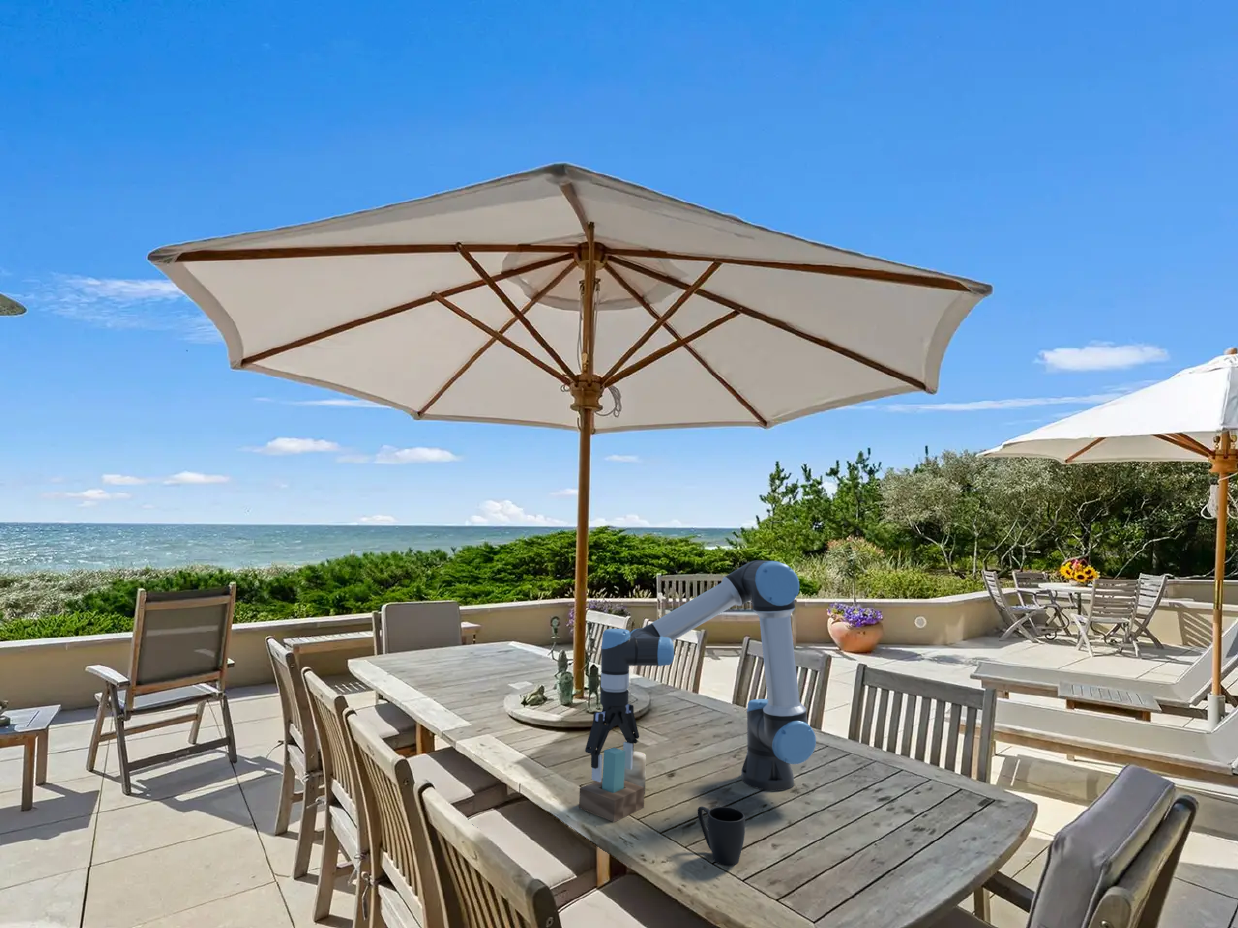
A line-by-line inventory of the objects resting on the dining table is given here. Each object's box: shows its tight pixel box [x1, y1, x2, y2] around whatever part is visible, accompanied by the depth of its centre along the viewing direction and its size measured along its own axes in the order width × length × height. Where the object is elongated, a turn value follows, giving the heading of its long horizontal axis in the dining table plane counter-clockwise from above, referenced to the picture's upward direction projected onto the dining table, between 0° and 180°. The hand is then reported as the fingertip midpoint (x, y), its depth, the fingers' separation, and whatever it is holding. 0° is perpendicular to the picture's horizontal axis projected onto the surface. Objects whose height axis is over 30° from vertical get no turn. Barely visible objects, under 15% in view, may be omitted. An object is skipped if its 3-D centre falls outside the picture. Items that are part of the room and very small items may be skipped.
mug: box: [697, 806, 746, 867], centre depth 142 cm, size 8×12×10 cm
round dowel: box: [624, 750, 647, 796], centre depth 177 cm, size 6×6×10 cm
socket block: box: [578, 778, 645, 823], centre depth 167 cm, size 12×12×5 cm
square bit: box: [602, 747, 625, 793], centre depth 167 cm, size 4×4×14 cm
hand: (612, 774), depth 167 cm, fingers open, 12 cm apart
